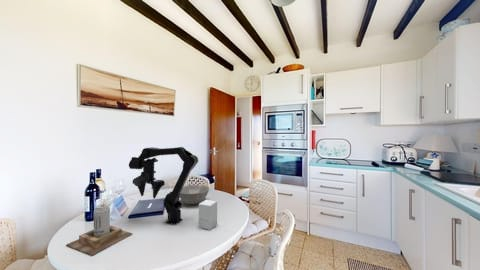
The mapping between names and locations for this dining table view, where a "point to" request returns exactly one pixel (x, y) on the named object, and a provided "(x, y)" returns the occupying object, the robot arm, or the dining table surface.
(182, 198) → the ceramic bowl
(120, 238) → the socket board
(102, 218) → the energy drink can
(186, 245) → the dining table surface
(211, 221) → the supplement box
